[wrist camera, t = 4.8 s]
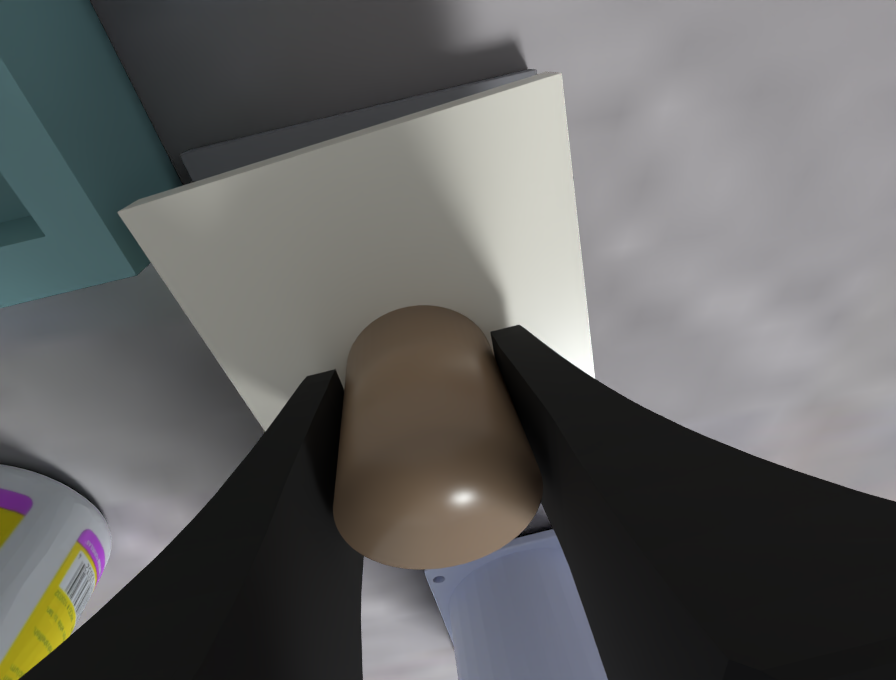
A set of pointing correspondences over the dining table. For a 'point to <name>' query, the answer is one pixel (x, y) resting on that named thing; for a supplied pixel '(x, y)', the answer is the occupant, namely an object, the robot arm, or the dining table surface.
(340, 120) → the pad
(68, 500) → the supplement bottle
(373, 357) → the lid
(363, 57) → the dining table surface
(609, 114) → the dining table surface
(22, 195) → the box
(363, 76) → the dining table surface
